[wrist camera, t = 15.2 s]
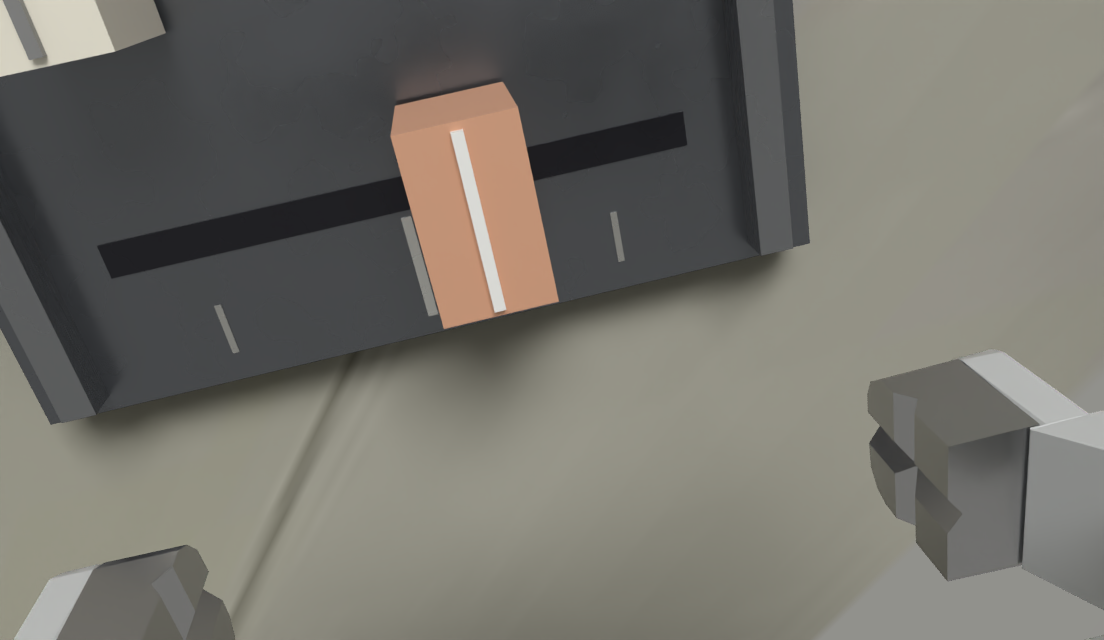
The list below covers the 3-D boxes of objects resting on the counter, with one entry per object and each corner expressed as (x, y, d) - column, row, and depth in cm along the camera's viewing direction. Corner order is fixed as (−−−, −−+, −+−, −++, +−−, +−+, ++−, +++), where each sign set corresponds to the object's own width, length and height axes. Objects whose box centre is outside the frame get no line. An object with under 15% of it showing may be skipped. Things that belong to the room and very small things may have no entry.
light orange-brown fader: (502, 81, 23) (518, 108, 20) (539, 250, 26) (560, 304, 22) (394, 105, 23) (390, 138, 19) (440, 273, 25) (444, 332, 22)
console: (733, -402, 22) (781, -455, 19) (785, 224, 29) (826, 255, 26) (-227, -209, 21) (-332, -233, 18) (74, 392, 28) (34, 445, 25)
